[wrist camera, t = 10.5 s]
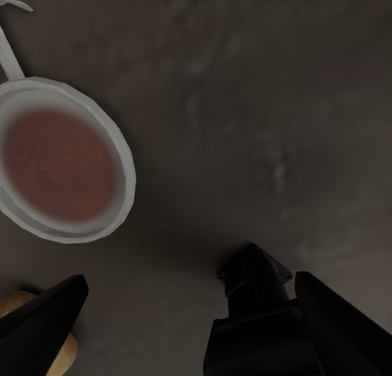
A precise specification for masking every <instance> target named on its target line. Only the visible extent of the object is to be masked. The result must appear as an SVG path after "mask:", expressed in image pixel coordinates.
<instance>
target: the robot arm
mask: <svg viewBox="0 0 392 376" xmlns="http://www.w3.org/2000/svg"><path fill="white" fill-rule="evenodd" d="M252 248H255V249H254V250H252ZM287 275H288V276H287ZM221 276H222V277H221ZM217 278H218V279H219V280H220V281H221V282H223V283H224V284H225V296H226V297H227V298H228V311H229V317H228V318H224V319H221V320H220V319H216V320H214V321H213V325H212V330H211V334H210V338H209V342H208V346H207V350H206V354H205V359H204V365H203V373H204V376H392V335H391V334H389V333H388V332H387V331H385V330H384V329H383V328H382V327H380V326H379V325H378V324H376V323H375V322H374V321H372V320H371V319H370V318H368V317H367V316H366V315H364V314H363V313H362V312H361V311H359V310H358V309H357V308H355V307H354V306H353V305H351V304H350V303H349V302H347V301H346V300H345V299H343V298H342V297H341V296H340V295H338V294H337V293H336V292H334V291H333V290H332V289H330V288H329V287H328V286H326V285H325V284H324V283H323V282H321V281H320V280H319V279H317V278H316V277H315V276H313V275H312V274H311V273H309V272H307V271H298V272H296V275H295V294H296V297H297V298H295V299H291V300H290V299H289V297H288V294H287V292H286V290H285V287H284V284H285V283H287V282H288V281H289V280H291V279H292V278H293V275H292V273H291V272H290V271H289V270H288V269H286V268H285V267H284V266H282V265H281V264H280V263H279V262H277V261H276V260H275V259H273V258H272V257H271V256H270V255H268V254H267V253H266V252H264V251H263V250H262V249H261V248H259V247H258V246H257V245H255V244H251V245H250V246H248V247H247V248H246V249H245V250H244V251H243V252H242V253H240V254H239V255H237V256H236V257H235V258H233V259H232V260H231V261H230V262H229V263H228V264H227V265H225V266H224V268H223V269H222V270H221V271H220V272H219V273H218V274H217ZM88 292H89V288H88V285H87V283H86V280H85V278H84V276H83V275H72V276H70V277H68V278H67V279H65V280H63V281H62V282H60V283H58V284H57V285H55V286H53V287H52V288H50V289H48V290H47V291H45V292H43V293H42V294H40V295H38V296H37V297H35V298H33V299H32V300H30V301H28V302H27V303H25V304H23V305H22V306H20V307H18V308H17V309H15V310H13V311H12V312H10V313H8V314H7V315H5V316H3V317H2V318H0V376H46V375H47V373H48V371H49V370H50V368H51V366H52V364H53V362H54V361H55V359H56V357H57V355H58V353H59V352H60V350H61V348H62V346H63V345H64V343H65V341H66V339H67V337H68V335H69V334H70V332H71V330H72V328H73V326H74V323H75V321H76V319H77V317H78V315H79V313H80V310H81V308H82V306H83V304H84V302H85V300H86V297H87V295H88Z"/></svg>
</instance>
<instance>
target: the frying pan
mask: <svg viewBox="0 0 392 376" xmlns="http://www.w3.org/2000/svg"><path fill="white" fill-rule="evenodd" d="M6 3H10V4H13V5H15V6H18V7H20V8H22V9H25V10H27V11H29V12H32V11H33V9H32V8H31V7H30V6H28V5H26V4H25V3H23V2H21V1H18V0H0V6H2V5H4V4H6ZM0 64H1V66H2V68H3V69H4V71H5V73H6V75H7V77H8V79H9V81H7V82H5V83H3V84H1V85H0V210H1V211H2V212H3V213H4V214H6V215H7V216H8V217H9V218H10V219H12V220H13V221H14V222H15V223H17V224H18V225H19V226H20V227H22V228H24V229H25V230H27V231H29V232H31V233H33V234H35V235H37V236H39V237H41V238H44V239H48V240H52V241H56V242H60V243H86V242H91V241H94V240H96V239H99V238H102V237H105V236H107V235H109V234H111V233H112V232H113V231H114V230H115V229H116V228H117V227H119V226H120V225H121V224H122V223H123V222H124V221H125V219H126V217H127V215H128V213H129V211H130V209H131V207H132V205H133V203H134V195H135V185H136V172H135V167H134V162H133V158H132V153H131V150H130V148H129V146H128V144H127V142H126V140H125V138H124V136H123V135H122V133H121V131H120V129H119V128H118V126H117V125H116V124H115V123H114V121H113V120H112V119H111V118H110V117H109V116H108V115H107V114H106V113H105V112H104V111H103V110H102V109H101V108H100V107H99V106H98V105H97V104H96V102H95V101H94V100H92V99H91V98H89V97H87V96H86V95H84V94H82V93H81V92H79V91H77V90H76V89H74V88H72V87H71V86H69V85H67V84H66V83H62V82H58V81H54V80H49V79H45V78H40V77H36V76H34V77H28V78H25V76H24V74H23V72H22V70H21V68H20V66H19V64H18V62H17V59H16V57H15V55H14V53H13V51H12V49H11V47H10V45H9V43H8V41H7V39H6V37H5V35H4V32H3V30H2V28H1V26H0Z"/></svg>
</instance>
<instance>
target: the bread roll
mask: <svg viewBox="0 0 392 376" xmlns="http://www.w3.org/2000/svg"><path fill="white" fill-rule="evenodd" d="M35 297H37V295H36V294H33V293H30V292H27V291H16V292H13V293H11V294H9V295H7V296H6V297H5V298H3V299H2V300H1V301H0V318H2V317H3V316H5V315H7V314H8V313H10V312H12V311H13V310H15V309H17V308H18V307H20V306H22V305H23V304H25V303H27V302H28V301H30V300H32V299H33V298H35ZM77 351H78V344H77V340H76V339H75V338H74V336H73V334H72V333H71V332H70V334H69V335H68V337H67V339H66V341H65V343H64V345H63V346H62V348H61V350H60V352H59V353H58V355H57V357H56V359H55V361H54V362H53V364H52V366H51V368H50V370H49V371H48V373H47V375H46V376H62V375H63V374H64V373H65V372H66V371H67V369H68V368H69V367H70V366H71V365H72V363H73V362H74V360H75V357H76V355H77Z"/></svg>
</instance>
